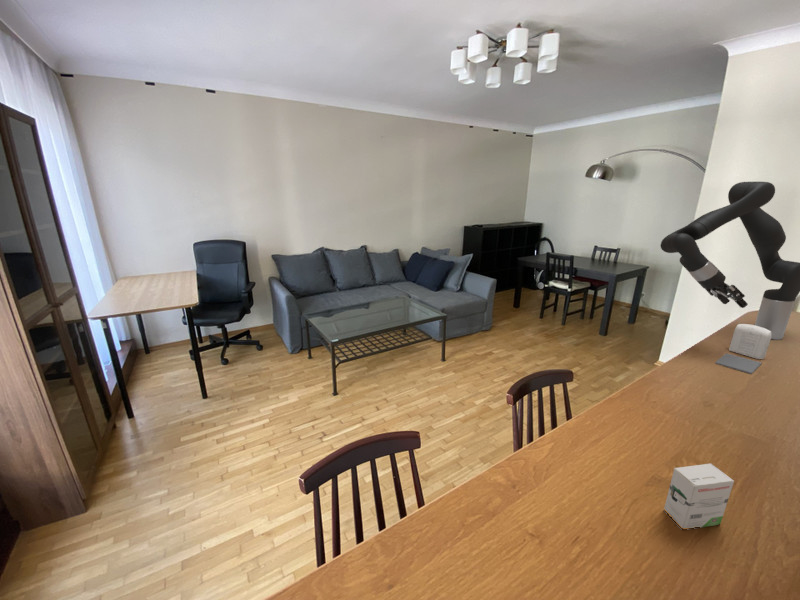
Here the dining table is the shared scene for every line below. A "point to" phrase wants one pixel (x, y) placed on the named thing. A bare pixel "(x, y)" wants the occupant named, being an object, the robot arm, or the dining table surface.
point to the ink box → (698, 495)
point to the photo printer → (750, 340)
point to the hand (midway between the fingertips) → (735, 304)
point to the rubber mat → (738, 363)
